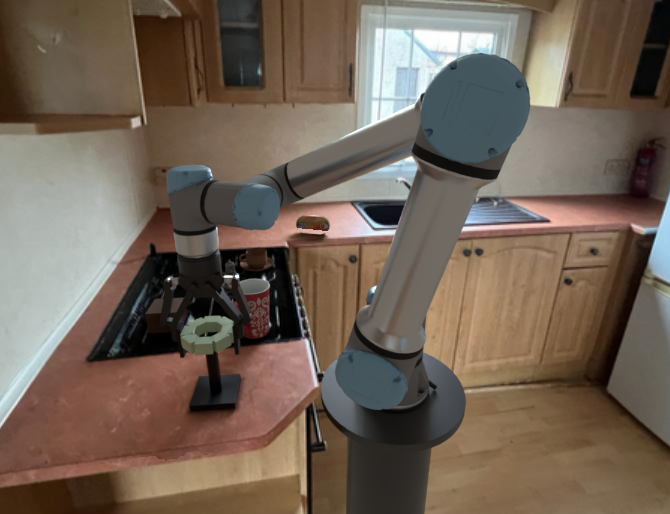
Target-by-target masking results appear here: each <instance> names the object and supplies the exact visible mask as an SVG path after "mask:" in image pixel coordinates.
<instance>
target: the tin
mask: <svg viewBox="0 0 670 514" xmlns="http://www.w3.org/2000/svg"><path fill="white" fill-rule="evenodd" d="M295 227H296V229H297V228H302V229H313V230H322V231H328V230H329V231H330V229H331V223H330V220H329V218H327V217H326V216H324V215H312V214H304V215H301V216H299V217H298V218H297V219H296V222H295ZM329 231H328V232H329Z"/></svg>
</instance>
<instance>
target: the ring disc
mask: <svg viewBox="0 0 670 514" xmlns="http://www.w3.org/2000/svg"><path fill="white" fill-rule="evenodd" d="M232 326H233V321H232V319H231V318H228V317H226V316H221V315H205V316H204V317H198V318H197V319H194V320H192V321H190V322H188V323H186V325H184V328H183V330H182V332H181V334H180V337H181V344H182V348H184V349H185V350H187V353H189V354H191V355H195V356H203V355H205V354H213V353H214V351H215V352H217V353H218V354H219V353H220V352H222V351H224V350H226V349H227V348H229V347H232V344H234V338H233V330H232ZM206 333H215V334H214V335H211V336H203V335H204V334H206ZM205 356H206V355H205Z"/></svg>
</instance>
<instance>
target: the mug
mask: <svg viewBox="0 0 670 514" xmlns="http://www.w3.org/2000/svg"><path fill="white" fill-rule="evenodd" d="M240 286H241V288H242V290H243V293H244V295H245V297H246V300H247V302H248V305H249V307H250V309H251V312H252V318H251V322H249V323H247V322H246V323H244V337H243V338H246V339H250V340H257V339H260V338H263V337H265V336H267V335H268V334H269V333H270V288H271V284H270V282H269V281H267V280H266V279H261V278H248V279H244V280H240ZM233 304H234V305H235V306H236V307H237V309H238V310H239V311H240V308H239V306H238V304H237V302H236V300H235V301H233ZM240 313H241V311H240ZM241 314H242V313H241ZM231 320H232V319H231ZM232 321H233V320H232Z"/></svg>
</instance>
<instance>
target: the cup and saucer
mask: <svg viewBox="0 0 670 514" xmlns="http://www.w3.org/2000/svg"><path fill="white" fill-rule="evenodd" d="M242 257H245V258H243V259H242ZM238 259H239V261H240V263H239V265H240V268H242V269H243V270H245V271H247V272H262V271H266V270H268V269H270V268H272V267H273V266H274V264H275V260H274V259H273V258H272V257H270V256H268V250H267V249H266V248H264V247H251V248H249V249H247V250H246V251H245V253H242V254H240V255H239V257H238Z"/></svg>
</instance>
